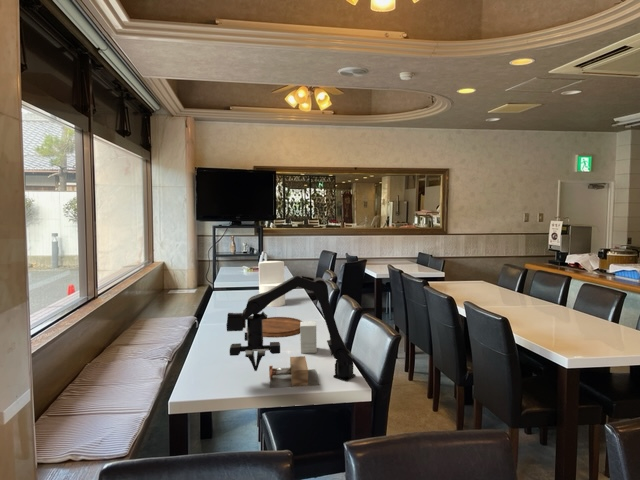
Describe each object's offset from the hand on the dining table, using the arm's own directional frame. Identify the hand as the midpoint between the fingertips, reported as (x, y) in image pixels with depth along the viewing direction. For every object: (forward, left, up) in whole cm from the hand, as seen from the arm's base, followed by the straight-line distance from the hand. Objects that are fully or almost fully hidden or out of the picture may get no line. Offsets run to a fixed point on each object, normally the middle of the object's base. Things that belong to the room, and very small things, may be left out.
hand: (255, 370), depth 159 cm
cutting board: (+42, -53, -4) cm, 68 cm away
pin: (-7, -7, -3) cm, 11 cm away
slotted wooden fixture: (-10, -10, -4) cm, 15 cm away
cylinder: (+83, -91, -4) cm, 123 cm away
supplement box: (+6, -37, -4) cm, 38 cm away
